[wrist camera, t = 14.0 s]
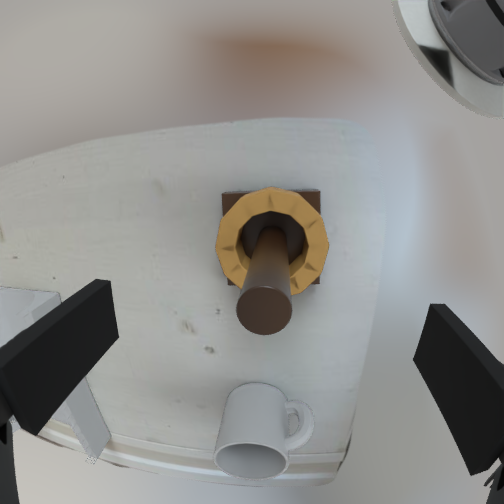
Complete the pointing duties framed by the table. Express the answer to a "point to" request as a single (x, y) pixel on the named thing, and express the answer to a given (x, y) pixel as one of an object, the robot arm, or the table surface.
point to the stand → (269, 264)
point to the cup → (260, 432)
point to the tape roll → (281, 202)
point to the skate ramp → (81, 399)
